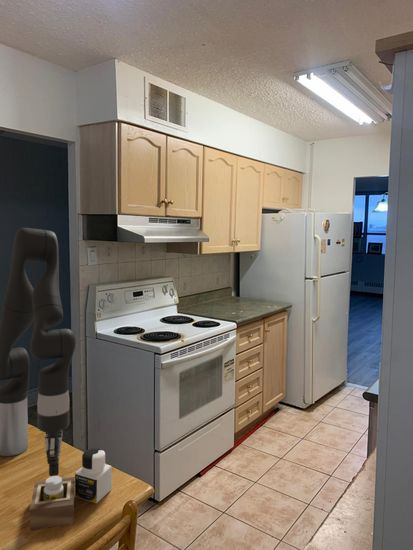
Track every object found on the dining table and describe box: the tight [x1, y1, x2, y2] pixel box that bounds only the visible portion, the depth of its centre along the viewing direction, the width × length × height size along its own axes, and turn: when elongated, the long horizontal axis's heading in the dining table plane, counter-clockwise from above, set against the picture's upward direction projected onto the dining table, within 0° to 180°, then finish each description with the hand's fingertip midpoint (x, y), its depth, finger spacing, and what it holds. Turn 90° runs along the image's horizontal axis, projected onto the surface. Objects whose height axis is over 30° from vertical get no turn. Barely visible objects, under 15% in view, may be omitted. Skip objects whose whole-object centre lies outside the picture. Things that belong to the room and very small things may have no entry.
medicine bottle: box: [74, 447, 113, 504], centre depth 117 cm, size 7×7×12 cm
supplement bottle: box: [44, 475, 63, 501], centre depth 109 cm, size 5×5×8 cm
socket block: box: [29, 476, 76, 531], centre depth 109 cm, size 12×10×5 cm
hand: (53, 474), depth 108 cm, fingers closed
